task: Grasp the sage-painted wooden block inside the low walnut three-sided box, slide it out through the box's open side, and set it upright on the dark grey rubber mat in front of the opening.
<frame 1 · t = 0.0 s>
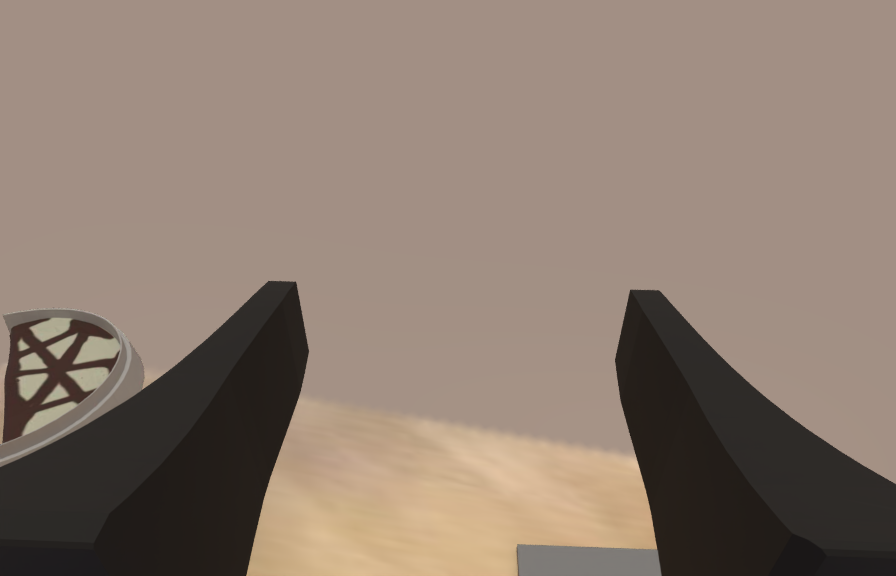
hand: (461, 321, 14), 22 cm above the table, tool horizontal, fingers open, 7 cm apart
food container: (123, 490, 37), on the table
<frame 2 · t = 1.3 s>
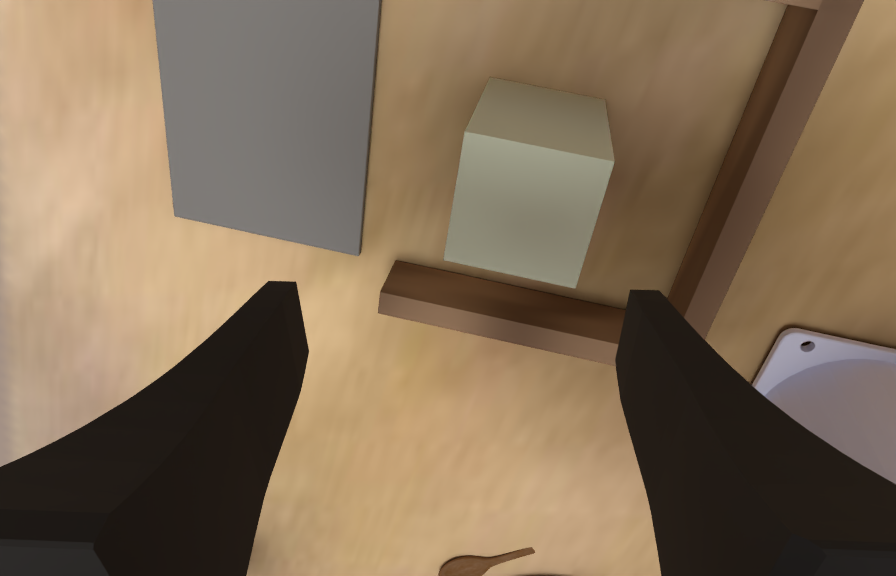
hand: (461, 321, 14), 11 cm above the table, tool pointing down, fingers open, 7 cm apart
sage block: (534, 143, 23), on the table
mat: (267, 90, 23), on the table
open side box: (561, 149, 23), on the table
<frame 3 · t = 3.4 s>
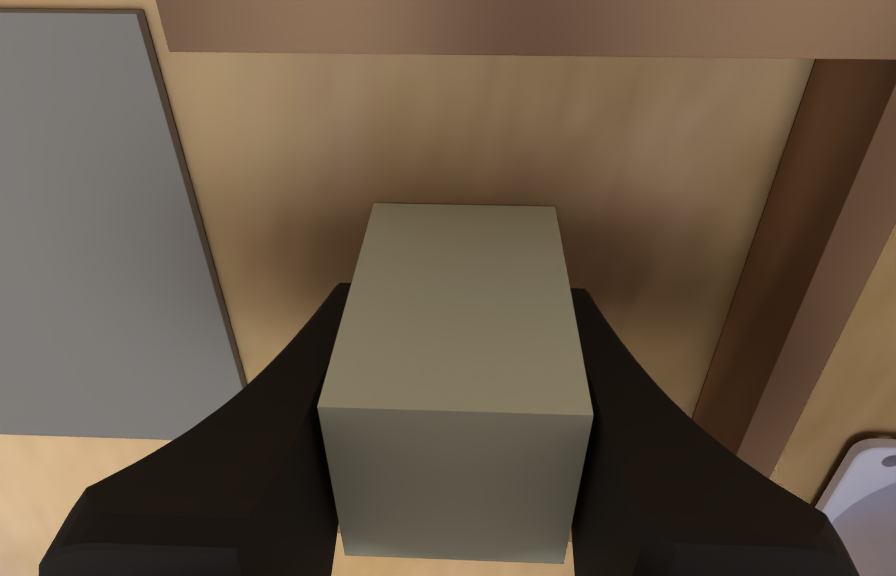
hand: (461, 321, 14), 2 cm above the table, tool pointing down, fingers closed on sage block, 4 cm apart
sage block: (462, 277, 15), on the table, touching gripper
mat: (55, 268, 15), on the table
open side box: (504, 279, 15), on the table
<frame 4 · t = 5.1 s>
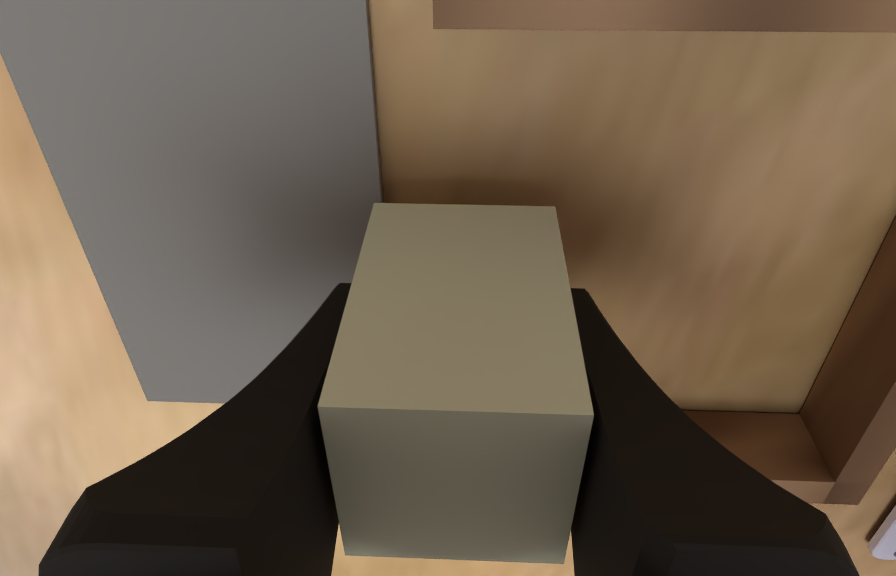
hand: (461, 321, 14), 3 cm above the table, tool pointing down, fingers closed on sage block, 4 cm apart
sage block: (463, 277, 15), point 2 cm above the table, touching gripper
mat: (234, 239, 17), on the table
open side box: (658, 248, 16), on the table
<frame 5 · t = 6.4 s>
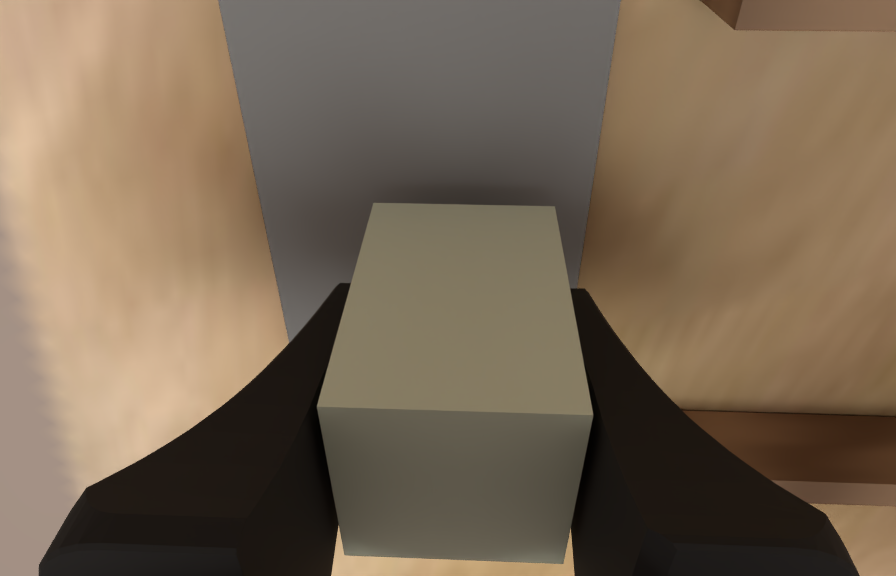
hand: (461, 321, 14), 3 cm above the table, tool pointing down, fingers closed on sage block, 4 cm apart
sage block: (462, 277, 15), point 1 cm above the table, touching gripper
mat: (425, 243, 16), on the table
open side box: (859, 252, 16), on the table
when the fingers open (3 cm above the table, at t = 6.8 s): sage block drops 1 cm, resting on mat.
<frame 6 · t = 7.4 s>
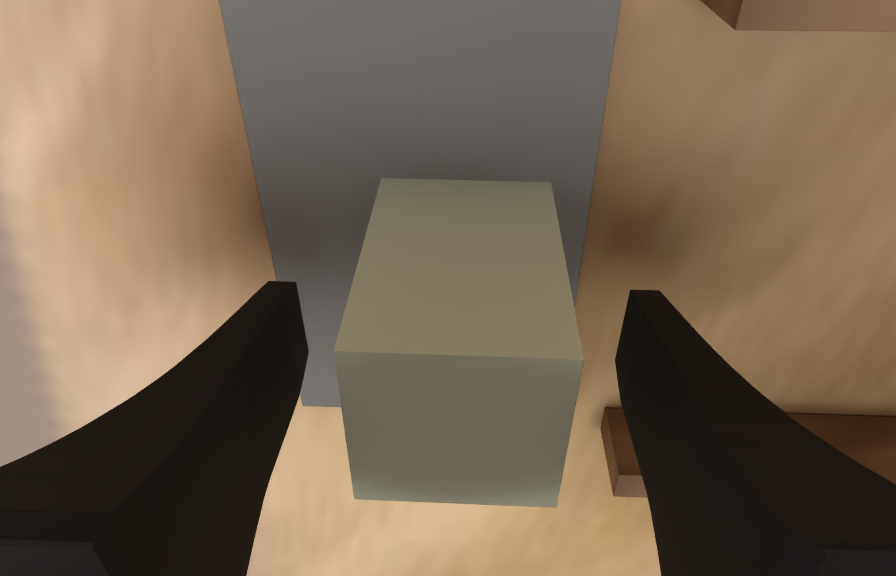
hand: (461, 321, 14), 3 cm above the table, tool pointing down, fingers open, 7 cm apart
sage block: (463, 250, 16), resting on mat
mat: (425, 243, 16), on the table
open side box: (859, 252, 16), on the table
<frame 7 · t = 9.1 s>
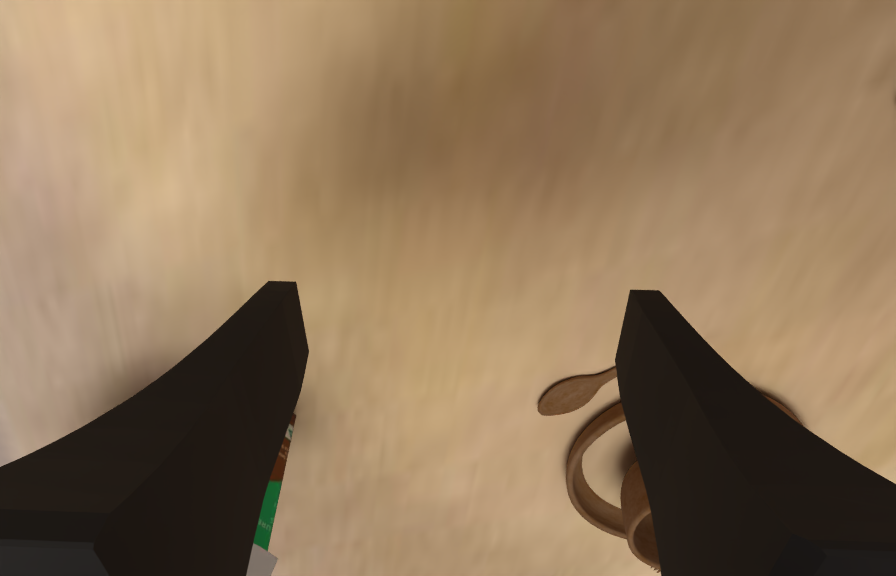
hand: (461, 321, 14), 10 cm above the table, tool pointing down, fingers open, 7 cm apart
food container: (187, 405, 32), on the table
place setting: (611, 477, 35), on the table
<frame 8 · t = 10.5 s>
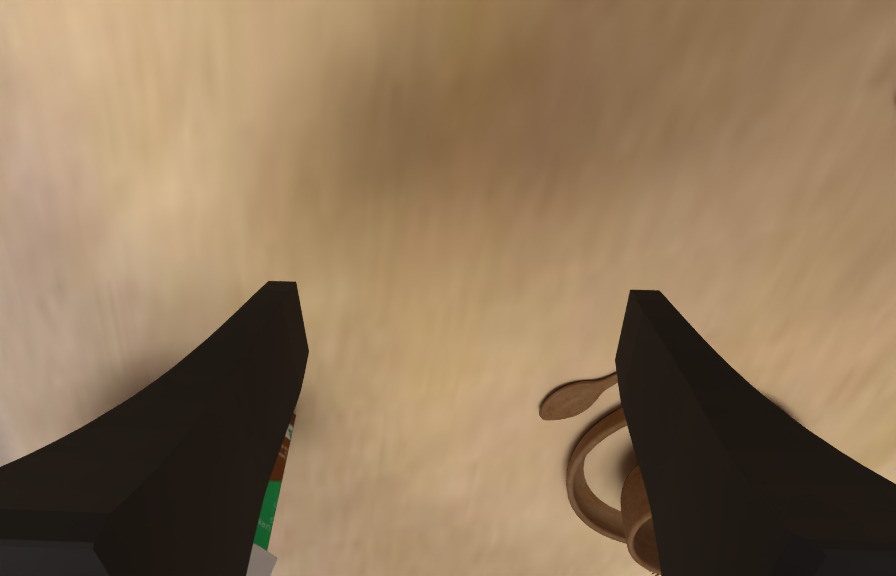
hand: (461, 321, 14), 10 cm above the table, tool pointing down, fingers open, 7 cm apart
food container: (186, 405, 32), on the table
place setting: (610, 481, 35), on the table
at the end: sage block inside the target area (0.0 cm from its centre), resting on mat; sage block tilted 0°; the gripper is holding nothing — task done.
